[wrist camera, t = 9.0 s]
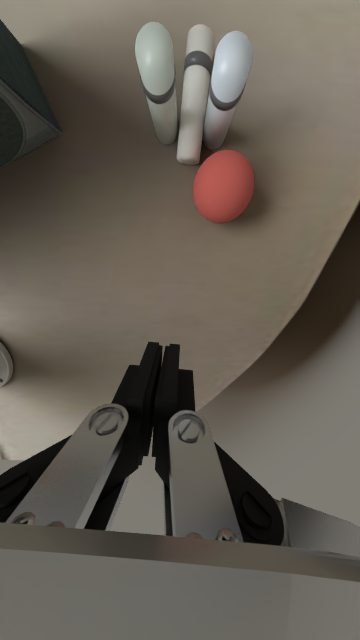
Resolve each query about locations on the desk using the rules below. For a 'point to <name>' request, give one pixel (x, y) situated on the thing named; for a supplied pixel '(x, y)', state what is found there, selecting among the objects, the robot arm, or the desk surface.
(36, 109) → the cassette player
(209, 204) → the ball
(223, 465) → the robot arm
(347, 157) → the desk surface
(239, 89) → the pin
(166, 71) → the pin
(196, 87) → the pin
